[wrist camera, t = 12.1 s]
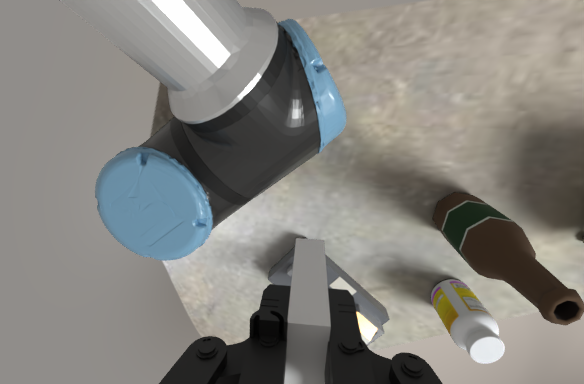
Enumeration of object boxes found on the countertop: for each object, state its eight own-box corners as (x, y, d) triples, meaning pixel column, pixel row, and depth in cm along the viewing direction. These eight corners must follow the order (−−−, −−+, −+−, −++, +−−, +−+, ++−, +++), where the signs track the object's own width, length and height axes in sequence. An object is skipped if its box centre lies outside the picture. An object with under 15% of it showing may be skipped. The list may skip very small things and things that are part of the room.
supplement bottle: (436, 315, 58) (470, 375, 46) (424, 285, 57) (454, 340, 44) (474, 302, 57) (518, 360, 45) (462, 271, 55) (504, 324, 43)
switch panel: (349, 336, 61) (352, 357, 56) (270, 269, 57) (266, 286, 53) (385, 308, 58) (392, 327, 54) (305, 236, 55) (304, 251, 50)
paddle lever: (333, 313, 55) (369, 340, 43) (316, 299, 54) (349, 322, 43) (339, 305, 55) (377, 329, 44) (322, 290, 55) (356, 311, 43)
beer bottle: (420, 219, 53) (503, 320, 30) (452, 181, 51) (568, 258, 28) (458, 243, 54) (566, 359, 31) (491, 206, 51) (634, 302, 29)
